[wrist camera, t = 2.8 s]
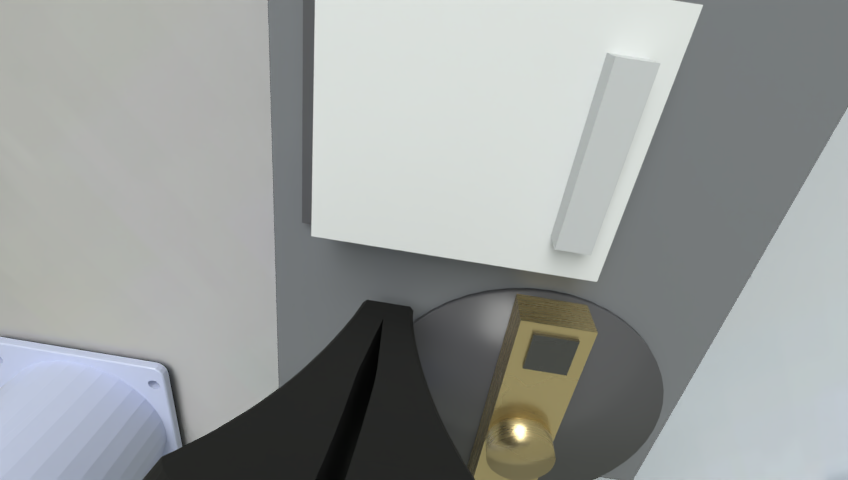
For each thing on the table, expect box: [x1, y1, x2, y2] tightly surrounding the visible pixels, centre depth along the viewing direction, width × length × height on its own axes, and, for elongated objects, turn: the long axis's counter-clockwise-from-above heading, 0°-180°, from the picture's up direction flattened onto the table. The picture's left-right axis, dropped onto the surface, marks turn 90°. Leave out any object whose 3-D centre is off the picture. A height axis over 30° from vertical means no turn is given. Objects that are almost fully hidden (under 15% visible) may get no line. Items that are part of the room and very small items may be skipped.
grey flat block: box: [268, 0, 848, 480], centre depth 14 cm, size 18×13×3 cm
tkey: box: [467, 294, 598, 480], centre depth 14 cm, size 9×2×2 cm, turn 172°
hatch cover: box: [311, 0, 703, 282], centre depth 10 cm, size 6×7×2 cm
